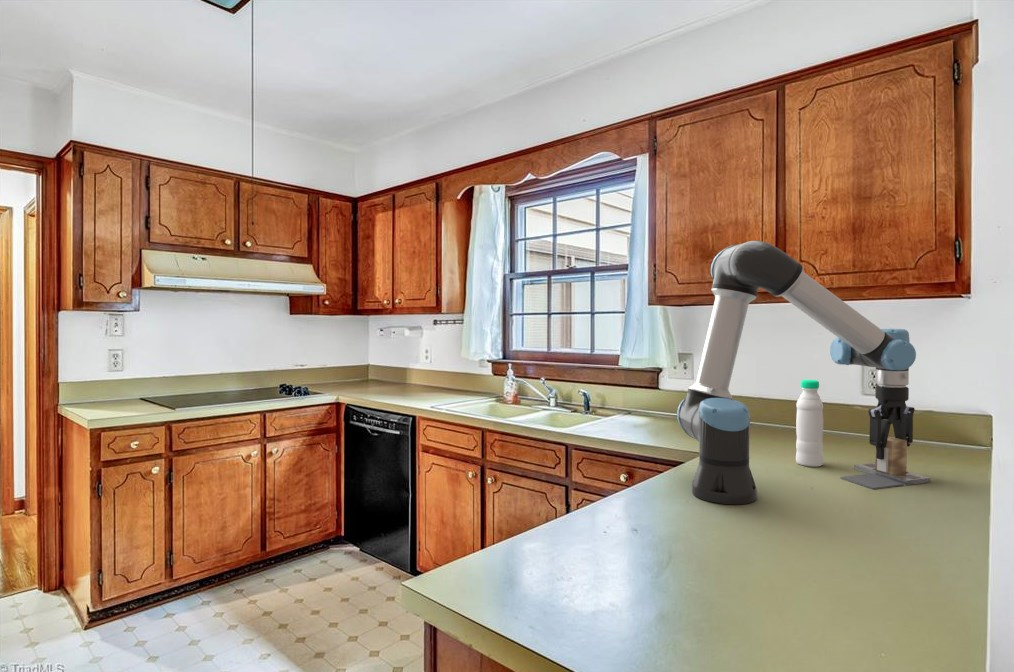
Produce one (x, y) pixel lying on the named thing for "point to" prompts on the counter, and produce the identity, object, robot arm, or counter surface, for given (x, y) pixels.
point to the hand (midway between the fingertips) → (890, 469)
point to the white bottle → (809, 425)
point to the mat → (871, 481)
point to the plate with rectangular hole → (901, 478)
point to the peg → (896, 456)
